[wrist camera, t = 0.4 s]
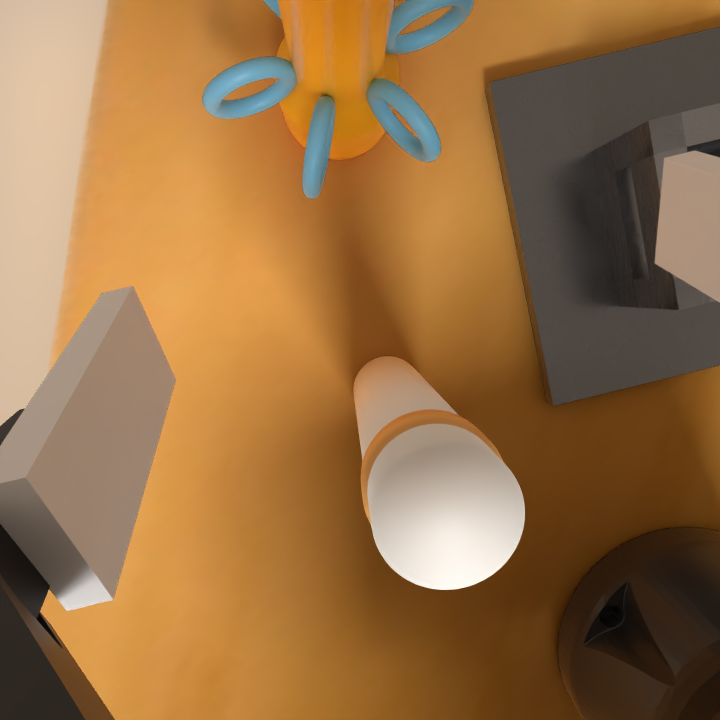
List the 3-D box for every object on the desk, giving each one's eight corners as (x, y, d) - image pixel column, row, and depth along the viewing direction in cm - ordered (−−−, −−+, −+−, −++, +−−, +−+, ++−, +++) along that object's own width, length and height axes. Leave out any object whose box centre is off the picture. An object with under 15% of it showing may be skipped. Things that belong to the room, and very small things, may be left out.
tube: (431, 416, 32) (545, 573, 14) (360, 433, 32) (386, 612, 14) (415, 345, 32) (512, 418, 14) (342, 363, 32) (347, 458, 14)
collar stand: (841, 330, 33) (965, 340, 26) (546, 402, 32) (598, 430, 26) (802, 12, 30) (928, -63, 24) (484, 89, 30) (524, 34, 24)
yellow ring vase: (408, 236, 31) (471, 188, 16) (224, 197, 30) (112, 109, 15) (455, 9, 29) (573, -276, 15) (263, -37, 29) (183, -384, 14)
